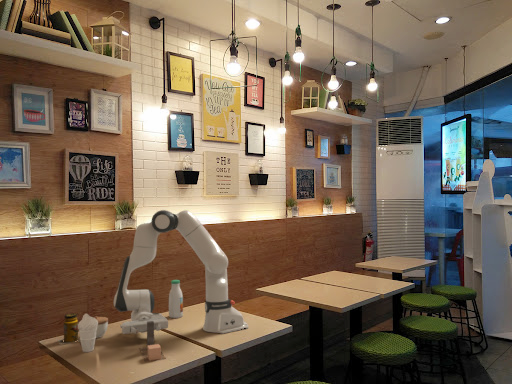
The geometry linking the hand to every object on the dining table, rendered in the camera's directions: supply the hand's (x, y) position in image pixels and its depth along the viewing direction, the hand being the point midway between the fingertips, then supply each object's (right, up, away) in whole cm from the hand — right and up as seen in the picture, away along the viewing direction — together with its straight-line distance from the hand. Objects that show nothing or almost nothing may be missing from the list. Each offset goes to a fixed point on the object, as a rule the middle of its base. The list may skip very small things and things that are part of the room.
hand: (147, 330), depth 184 cm
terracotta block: (+7, -6, -17) cm, 19 cm away
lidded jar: (-29, -9, +17) cm, 35 cm away
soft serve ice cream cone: (-25, -8, -3) cm, 26 cm away
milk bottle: (+3, -9, +50) cm, 51 cm away
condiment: (-39, -9, +11) cm, 42 cm away
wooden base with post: (+5, -7, -11) cm, 14 cm away
